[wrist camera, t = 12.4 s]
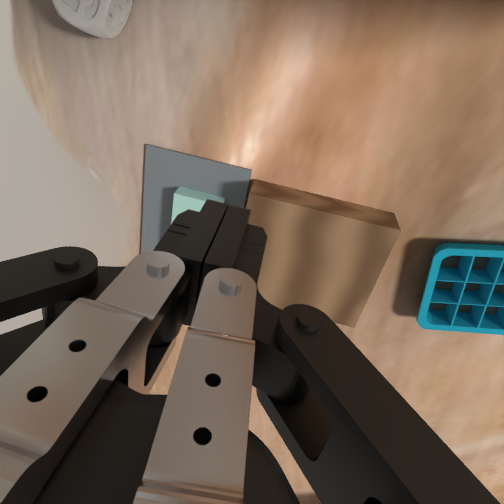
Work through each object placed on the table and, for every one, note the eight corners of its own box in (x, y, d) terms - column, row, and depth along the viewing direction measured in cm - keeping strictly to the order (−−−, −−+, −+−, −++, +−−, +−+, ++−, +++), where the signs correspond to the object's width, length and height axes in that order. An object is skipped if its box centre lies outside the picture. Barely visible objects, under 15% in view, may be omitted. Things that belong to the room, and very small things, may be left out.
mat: (251, 169, 42) (251, 170, 42) (228, 281, 51) (228, 283, 51) (146, 144, 42) (145, 144, 42) (141, 260, 51) (140, 261, 51)
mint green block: (174, 193, 42) (179, 186, 44) (168, 252, 47) (173, 243, 49) (222, 205, 42) (225, 197, 44) (211, 262, 47) (215, 254, 48)
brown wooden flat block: (394, 213, 42) (400, 230, 39) (351, 306, 50) (354, 327, 47) (254, 179, 43) (249, 193, 39) (233, 276, 50) (227, 295, 47)
